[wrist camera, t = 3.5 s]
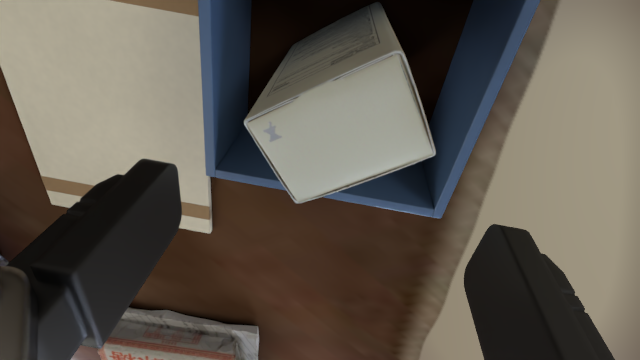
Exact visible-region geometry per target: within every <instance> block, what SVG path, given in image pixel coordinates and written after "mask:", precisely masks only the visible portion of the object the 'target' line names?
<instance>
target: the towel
mask: <svg viewBox="0 0 640 360" xmlns="http://www.w3.org/2000/svg"><path fill="white" fill-rule="evenodd" d="M0 66H1V69H2V71H3V74H4V77H5V79H6V82H7V85H8V88H9V90H10V93H11V96H12V98H13V101H14V104H15V107H16V109H17V112H18V115H19V117H20V120H21V123H22V125H23V128H24V131H25V134H26V136H27V139H28V142H29V144H30V147H31V150H32V153H33V155H34V158H35V161H36V163H37V166H38V169H39V171H40V174H41V178H42V181H43V183H44V186H45V189H46V190H47V193H48V196H49V199H50V201H51V204H52V205H57V206H63V207H68V208H70V207H72V206H73V205H74V204H75V203H76V202H80V198H82V197H83V196H84V195H85V194H86V193H87V192H88V191H89V190H90V189H92V188H93V187H94V186H95V185H96V184H98V183H100V182H102V181H104V180H106V179H108V178H110V177H112V176H115V175H117V174H120V175H125V174H126V173H127V172H128V171H129V170H130V169H131V168H132V167H133V166H134V165H135V164H136V163H137V162H138V161H139V160H141V159H144V158H145V159H151V160H156V161H161V162H167V163H172V164H175V165H176V167H177V170H178V177H179V187H180V196H181V206H182V217H181V222H180V226H179V228H183V229H188V230H193V231H199V232H204V233H211V231H212V205H211V180H210V176H206V167H205V145H204V123H203V101H202V79H201V57H200V35H199V13H198V0H0Z"/></svg>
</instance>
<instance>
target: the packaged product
mask: <svg viewBox="0 0 640 360" xmlns="http://www.w3.org/2000/svg"><path fill="white" fill-rule="evenodd" d="M258 349H259V331H258V326H249V325H235V324H225V323H221V322H217V321H213V320H208V319H203V318H197V317H192V316H187V315H183V314H180V313H176V312H173V311H170V310H154V311H150V310H143V309H136V308H129V307H128V308H127V310H126V311H125V313H124V314H123V316H122V317H121V319H120V321H119V322H118V324H117V325H116V327H115V328H114V330H113V331H112V333H111V334H110V336H109V337H108V339H107V341H106V342H105V344H104V345H103V347H102V348H101V349H98V354H99V355H100V356H101V359H102V360H258Z"/></svg>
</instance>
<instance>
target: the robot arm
mask: <svg viewBox="0 0 640 360" xmlns="http://www.w3.org/2000/svg"><path fill="white" fill-rule="evenodd" d="M181 217H182V206H181V196H180V187H179V177H178V170H177V167H176V165H175V164H172V163H167V162H161V161H156V160H151V159H145V158H144V159H141V160H139V161H138V162H137V163H136V164H135V165H134V166H133V167H132V168H131V169H130V170H129V171H128V172H127V173H126V174H125V175H120V174H117V175H115V176H112V177H110V178H108V179H106V180H104V181H102V182H100V183H98V184H96V185H95V186H94V187H93V188H92V189H90V190H89V191H88V192H87V193H86V194H85V195H84V196H83V197H82V198H80V202H76V203H75V204H74V205H73V206H72V207H70V208H69V209H68V210H67V213H66V214H63V215H62V216H60V217H59V218H58V219H57V220H56V221H55V222H54V223H53V224H52V225H50V226H49V227H48V228H47V229H46V230H45V231H44V232H43V233H42V234H40V235H39V236H38V237H37V238H36V239H35V240H34V241H33V242H32V243H30V244H29V245H28V246H27V247H26V248H25V249H24V250H23V251H22V252H20V253H19V254H18V255H17V256H16V257H15V258H14V259H13V260H12V261H10V262H9V263H8V264H7V265H6V266H0V360H70V359H71V358H72V356H73V355H74V353H75V352H76V351H77V349H78V348H79V346H80V345H83V346H88V347H93V348H99V349H101V348H102V347H103V345H104V344H105V342H106V341H107V339H108V337H109V336H110V334H111V333H112V331H113V330H114V328H115V327H116V325H117V324H118V322H119V321H120V319H121V317H122V316H123V314H124V313H125V311H126V310H127V308H128V307H129V305H130V304H131V302H132V301H133V299H134V298H135V296H136V294H137V293H138V291H139V290H140V288H141V287H142V285H143V284H144V282H145V281H146V279H147V278H148V276H149V275H150V273H151V271H152V270H153V268H154V267H155V265H156V264H157V262H158V261H159V259H160V258H161V256H162V255H163V253H164V251H165V250H166V248H167V247H168V245H169V244H170V242H171V241H172V239H173V238H174V236H175V235H176V233H177V231H178V228H179V226H180V222H181ZM464 287H465V292H466V295H467V299H468V303H469V306H470V309H471V313H472V317H473V320H474V324H475V328H476V331H477V334H478V338H479V342H480V346H481V349H482V353H483V356H484V360H615V359H614V358H613V356H612V354H611V352H610V351H609V349H608V347H607V345H606V344H605V342H604V340H603V339H602V337H601V335H600V334H599V332H598V330H597V328H596V327H595V325H594V324H593V322H592V320H591V318H590V317H589V315H588V314H587V313H585V312H584V310H585V308H584V306H583V305H582V303H581V301H580V300H579V298H578V297H577V296H575V291H574V289H573V288H572V286H571V284H570V283H569V281H568V279H567V278H566V276H565V274H564V273H563V272H562V271H561V270H560V269H559V268H558V267H557V266H556V265H555V264H554V263H553V262H552V261H551V260H550V259H549V258H548V257H547V256H546V255H545V254H541V253H540V251H539V249H538V247H537V246H536V244H535V242H534V240H533V238H532V237H531V235H530V233H529V232H528V231H526V230H523V229H518V228H513V227H507V226H501V225H496V224H493V225H491V226H490V227H489V228H488V229H487V231H486V232H485V234H484V236H483V238H482V240H481V241H480V243H479V245H478V246H477V248H476V250H475V252H474V254H473V255H472V257H471V259H470V261H469V262H468V264H467V267H466V269H465V274H464Z"/></svg>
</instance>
